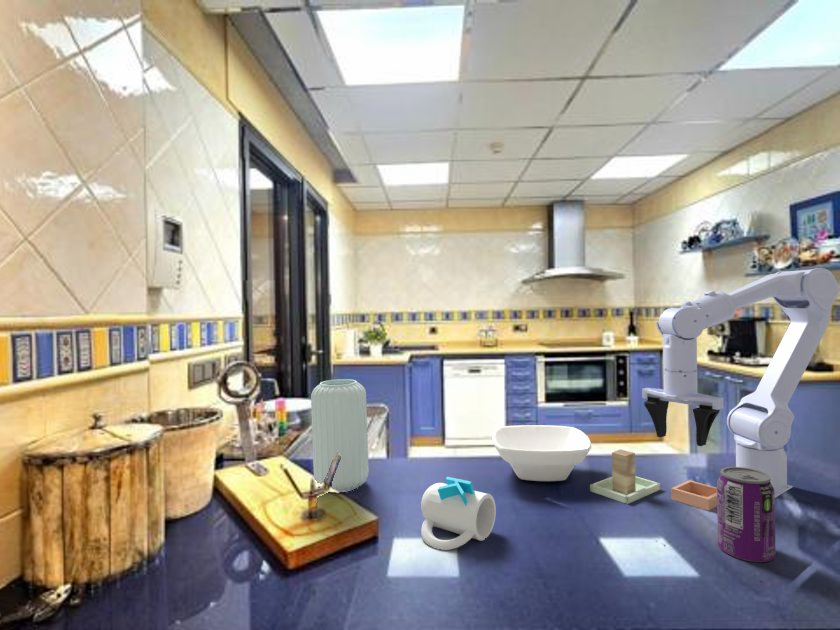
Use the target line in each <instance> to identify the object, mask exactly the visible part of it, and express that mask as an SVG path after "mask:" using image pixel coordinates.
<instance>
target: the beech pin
mask: <svg viewBox="0 0 840 630" xmlns="http://www.w3.org/2000/svg"><path fill="white" fill-rule="evenodd" d="M611 469H612V470H611V471H612V473H611V475H612V476H611V477H612V484H613V491H616V492H619V493H622V494H625V495H628V494H630V493H632V492H635V491H636V486H635V476H636V452H633V451H630V450H625V449H621V448H620V449H617V450H615V451H612V452H611Z"/></svg>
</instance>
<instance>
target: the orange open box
mask: <svg viewBox="0 0 840 630" xmlns="http://www.w3.org/2000/svg"><path fill="white" fill-rule="evenodd" d="M670 495H671V496H670V498H671V500H673V501H676V502H679V503H682V504H685V505H689V506H691V507H694V508H697V509H701V510H703V511H707V512H709V511H711V510H713V509H715V508H717V486H712V485H709V484H704V483H701V482H697V481H695V480H690V479H689V480H686V481H685V482H683V483H680V484H677V485H676V486H674V487H673V486H672V487H671V488H670Z"/></svg>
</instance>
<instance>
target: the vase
mask: <svg viewBox="0 0 840 630" xmlns="http://www.w3.org/2000/svg"><path fill="white" fill-rule="evenodd" d="M366 391H367V390H366V388H365V386H364V385H362V384H361V383H359V382H358V381H357V380H355V379H347V378H343V379H341V378H340V379H328V380H324V381H320V383H319V384H318V385H316V387H314V388H313V390H312V391H311V394H310V407H311V409H310V411H311V436H312V440H311V441H312V462H313V463H312V464H313V465H312V466H313V479H314V481H315V480H316V481H317V483H320V484H322V483H323V481H324V479H325V477H326V475H327V473H328V471H329V468H330V465H331V462H332V460H333V458H334V456H335V454H336V453H337V452H339V453H340V455H341V460H340V462H339V465H338V468H337V470H336V473H335V475H334V478H333V481H332V488H333V489H336V490H339V491H343V490H347V491H348V490H352V489H354V488H357V489H359V488H360V487H361V486H362V485H364V484H365V482H366V481H367V479H368V477H369V473H370V471H369V468H370V467H369V466H370V465H369V440H368V435H369V434H368V414H367V411H368V408H367V407H368V406H367V405H368V403H367V392H366ZM359 486H360V487H359ZM358 487H359V488H358Z"/></svg>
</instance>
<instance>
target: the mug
mask: <svg viewBox="0 0 840 630" xmlns="http://www.w3.org/2000/svg"><path fill="white" fill-rule="evenodd" d="M445 482H446V483H445ZM445 482H436V483H434V484H432V485H430V486H429V487H428V488H427V489H426V490H424V491H425V492H424V493H423V495H422V498H421V501H420V509H421V513H422V516H423V519H424V520H423V522H422V525H421V529H420V531H421V532H420V534H421V537H422V541H424V543H425V544H426V545H427V544H428V545H430V546H432V547H434V548H437V549H436V550H439V549H441V550H440V551H449V550H454V549H457V548H460V547H463V545H465V544H467V543H468V542H469V541H471V539H473V540H477V541H484V540H486V539H487V538H489V536H490V534H491V533H492V531H493V528H494V525H495V522H496V521H495V520H496V515H497V506H496V501H495V498H494V496H492V494H490V493H487V492H486V493H485V492H482V491H477V490H475V489H474V485H473V482H472V481H469V480H466V479H462V478H455V477H451V476H446V478H445ZM434 527H435V528H438V529H441V530H445V531H448V532H452V533H453V534H454V533H455V534H457V535H459V536H456V537H455V538H451V539H446V540H445V539H439V538H437V537H436V536H435V535H434V533H433V528H434ZM485 538H486V539H485ZM428 545H427V546H428ZM430 546H429V547H430ZM432 547H431V548H432ZM434 548H433V549H434Z"/></svg>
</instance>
